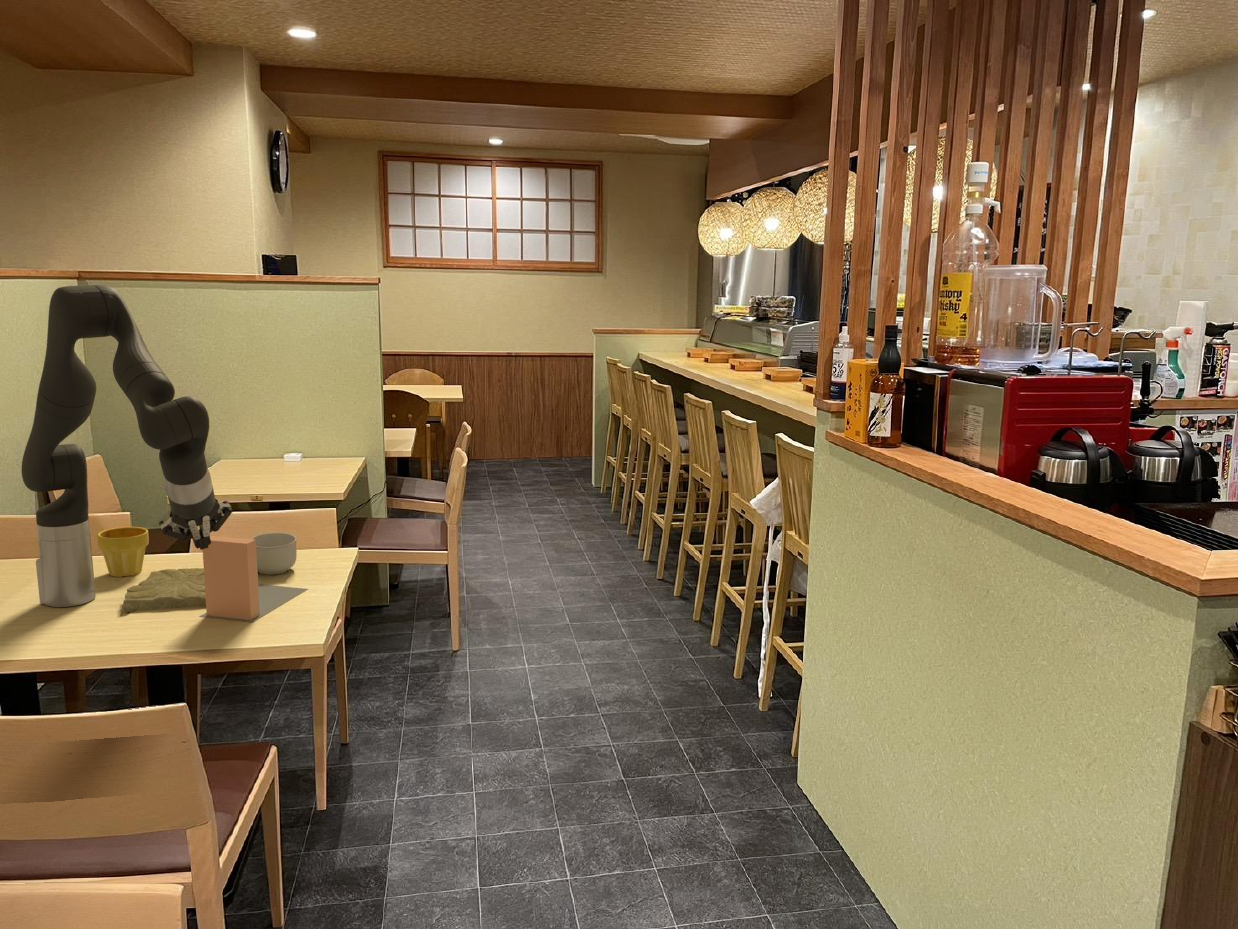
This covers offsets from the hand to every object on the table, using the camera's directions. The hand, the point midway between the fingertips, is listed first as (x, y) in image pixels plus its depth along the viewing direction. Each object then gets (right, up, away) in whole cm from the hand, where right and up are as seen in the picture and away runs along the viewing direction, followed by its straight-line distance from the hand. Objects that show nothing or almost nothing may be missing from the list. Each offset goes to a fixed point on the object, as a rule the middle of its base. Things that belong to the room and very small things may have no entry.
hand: (203, 545), depth 171 cm
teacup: (-3, -10, +40) cm, 41 cm away
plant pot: (-34, -10, +35) cm, 50 cm away
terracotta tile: (+1, -15, +10) cm, 18 cm away
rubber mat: (+3, -14, +18) cm, 23 cm away
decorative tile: (-16, -13, +22) cm, 30 cm away
